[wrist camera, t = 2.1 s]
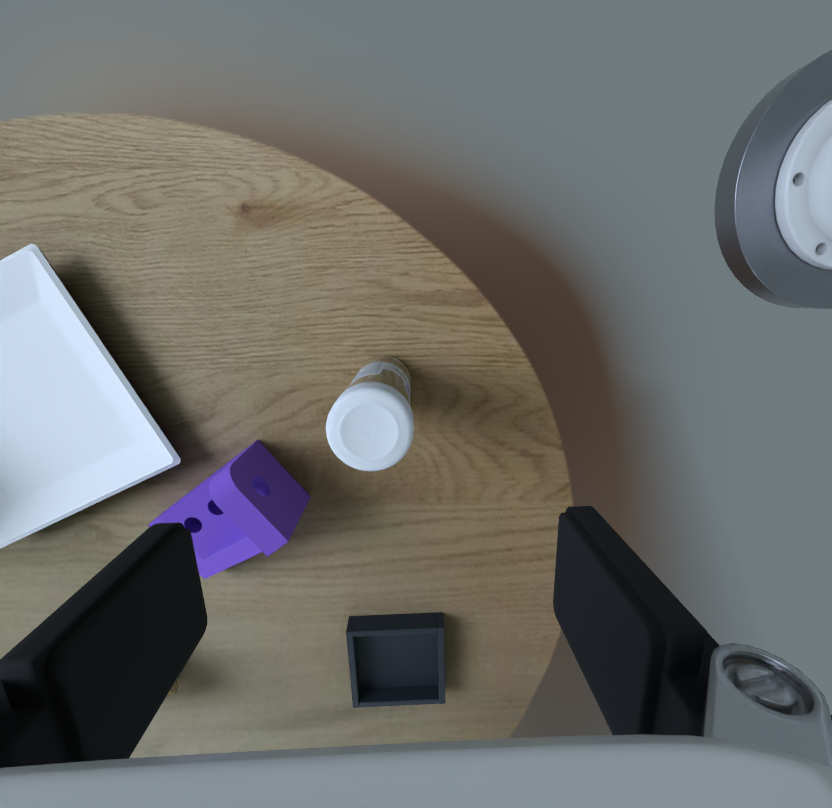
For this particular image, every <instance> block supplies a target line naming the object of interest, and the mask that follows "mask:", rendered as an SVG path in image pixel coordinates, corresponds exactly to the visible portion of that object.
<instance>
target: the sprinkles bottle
mask: <svg viewBox="0 0 832 808" xmlns="http://www.w3.org/2000/svg"><path fill="white" fill-rule="evenodd" d="M410 388H411V378H410V374H409V371H408V369H407V368H406V366H405V365H404V364H403V363H402V362H401V361H400V360H398V359H396V358H394V357H391V356H375V357H373V358H371V359H369V360H368V361H366V362H365V363H364V364H363V365H362V367H361V368H360V370H359V373H358V374H357V375H356V377H355V378H354V379H353V381H352V382H351V384H350V385H349V387H348V388H347V390H345V391H344V392H343V393H342V394H341V395H340V396H339V398H338V399H337V400H336V402H335V403H334V405H333V407H332V408H331V410H330V412H329V415H328V418H327V423H326V434H327V439H328V442H329V445H330V447H331V449H332V450H333V452H334V453H335V455H336V456H337V457H338V458H339V459H340V460H341V461H343V462H344V463H345V464H347V465H349V466H351V467H353V468H355V469H359V470H363V471H378V470H382V469H386V468H388V467H390V466H392V465H394V464H396V463H397V462H398V461H399V460H401V459H402V457H403V456H404V455H405V454H406V453H407V451H408V449H409V447H410V445H411V443H412V439H413V433H414V421H413V414H412V410H411V408H410Z"/></svg>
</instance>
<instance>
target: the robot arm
mask: <svg viewBox="0 0 832 808" xmlns="http://www.w3.org/2000/svg"><path fill="white" fill-rule="evenodd" d="M775 209H776V217H777V223H778V226H779V228H780V231H781V234H782V237H783V238H784V240H785V241H786V243H787V245H788V246H789V248H790V249H791V250H792V251H793V252H794V253H795V254H796V255H797V256H798V257H799V258H800V259H802V260H804V261H805V262H807V263H809V264H811V265H813V266H816V267H819V268H822V269H827V270H832V100H830V101H829V102H827V103H826V104H824V105H823V106H822V107H821V108H820V109H819V110H818V111H817V112H816V113H815V114H814V115H812V116H811V117H810V118H809V120H808V121H807V122H806V123H805V125H804V126H803V127H802V128H801V130H800V131H799V132H798V133H797V135H796V137H795V138H794V140H793V142H792V144H791V145H790V147H789V149H788V151H787V153H786V155H785V158H784V160H783V163H782V165H781V168H780V171H779V176H778V180H777V185H776V194H775ZM553 606H554V612H555V615H556V618H557V620H558V622H559V624H560V626H561V629H562V631H563V633H564V635H565V637H566V639H567V641H568V643H569V645H570V647H571V649H572V651H573V653H574V655H575V658H576V660H577V662H578V664H579V666H580V668H581V670H582V672H583V674H584V676H585V678H586V680H587V683H588V685H589V687H590V689H591V691H592V693H593V695H594V697H595V699H596V701H597V703H598V705H599V707H600V710H601V711H602V714H603V716H604V718H605V720H606V722H607V724H608V726H609V728H610V730H611V732H612V735H602V736H601V735H600V736H561V737H535V738H513V739H491V740H469V741H447V742H425V743H404V744H384V745H364V746H345V747H325V748H306V749H287V750H269V751H250V752H232V753H215V754H198V755H181V756H164V757H147V758H130V759H129V757H130V756H131V754H132V752H133V751H134V749H135V747H136V746H137V744H138V742H139V741H140V739H141V737H142V736H143V734H144V732H145V731H146V729H147V727H148V726H149V724H150V722H151V721H152V719H153V717H154V716H155V714H156V713H157V711H158V709H159V708H160V706H161V704H162V703H163V701H164V699H165V698H166V696H167V694H168V693H169V691H170V689H171V688H172V686H173V684H174V683H175V681H176V679H177V678H178V676H179V674H180V673H181V671H182V669H183V668H184V666H185V664H186V663H187V661H188V659H189V658H190V656H191V654H192V653H193V651H194V650H195V648H196V646H197V645H198V643H199V641H200V640H201V638H202V636H203V634H204V632H205V630H206V626H207V613H206V608H205V603H204V598H203V592H202V587H201V582H200V577H199V571H198V566H197V561H196V556H195V551H194V545H193V540H192V535H191V532H190V530H189V529H188V528H184V526H183V524H182V523H157V524H154V525H152V526H151V527H149V528H148V529H147V530H146V531H145V532H144V533H143V534H142V535H140V536H139V537H138V538H137V539H136V540H135V541H134V542H133V543H131V544H130V545H129V546H128V547H127V548H126V549H125V550H124V551H122V552H121V553H120V554H119V555H118V556H117V557H116V558H114V559H113V560H112V561H111V562H110V563H109V564H108V565H107V566H105V567H104V568H103V569H102V570H101V571H100V572H99V573H98V574H96V575H95V576H94V577H93V578H92V579H91V580H90V581H89V582H87V583H86V584H85V585H84V586H83V587H82V588H81V589H79V590H78V591H77V592H76V593H75V594H74V595H73V596H72V597H70V598H69V599H68V600H67V601H66V602H65V603H64V604H63V605H61V606H60V607H59V608H58V609H57V610H56V611H55V612H54V613H52V614H51V615H50V616H49V617H48V618H47V619H46V620H44V621H43V622H42V623H41V624H40V625H39V626H38V627H37V628H35V629H34V630H33V631H32V632H31V633H30V634H29V635H28V636H26V637H25V638H24V639H23V640H22V641H21V642H20V643H19V644H17V645H16V646H15V647H14V648H13V649H12V650H11V651H10V652H8V653H7V654H6V655H5V656H4V657H3V658H2V659H0V808H832V715H830V711H829V706H828V704H827V702H826V700H825V697H824V695H823V694H822V692H821V691H820V690H819V689H818V687H817V686H816V685H815V684H814V683H813V681H812V680H810V679H809V678H808V677H807V676H806V675H804V674H803V673H802V672H801V671H800V670H798V669H797V668H796V667H794V666H793V665H791V664H789V663H788V662H786V661H785V660H783V659H782V658H779V657H777V656H775V655H773V654H771V653H769V652H767V651H765V650H761V649H758V648H755V647H752V646H749V645H741V644H734V643H733V644H725V645H721V646H719V645H718V643H717V642H716V641H715V640H714V639H713V638H712V637H711V636H710V635H709V634H708V633H707V631H706V630H705V628H704V627H702V625H701V624H700V623H699V622H698V621H697V620H696V619H695V618H694V617H693V615H692V614H691V613H690V612H689V611H688V610H687V609H686V608H685V607H684V606H683V605H682V604H681V603H680V601H679V600H678V599H677V598H676V597H675V596H674V595H673V594H672V593H671V592H670V590H669V589H668V588H667V587H666V586H665V585H664V584H663V583H662V582H661V581H660V580H659V578H658V577H657V576H656V575H655V574H654V573H653V572H652V571H651V570H650V569H649V568H648V567H647V565H646V564H645V563H644V562H643V561H642V560H641V559H640V558H639V557H638V556H637V554H636V553H635V552H634V551H633V550H632V549H631V548H630V547H629V546H628V545H627V544H626V543H625V541H624V540H623V539H622V538H621V537H620V536H619V535H618V534H617V533H616V532H615V531H614V529H613V528H612V527H611V526H610V525H609V524H608V523H607V522H606V521H605V520H604V519H603V517H601V515H600V514H599V513H598V512H597V511H596V510H595V509H594V508H593V507H591V506H580V507H568V508H567V509H566V513H561V514H560V516H559V526H558V540H557V554H556V569H555V583H554V598H553Z"/></svg>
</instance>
